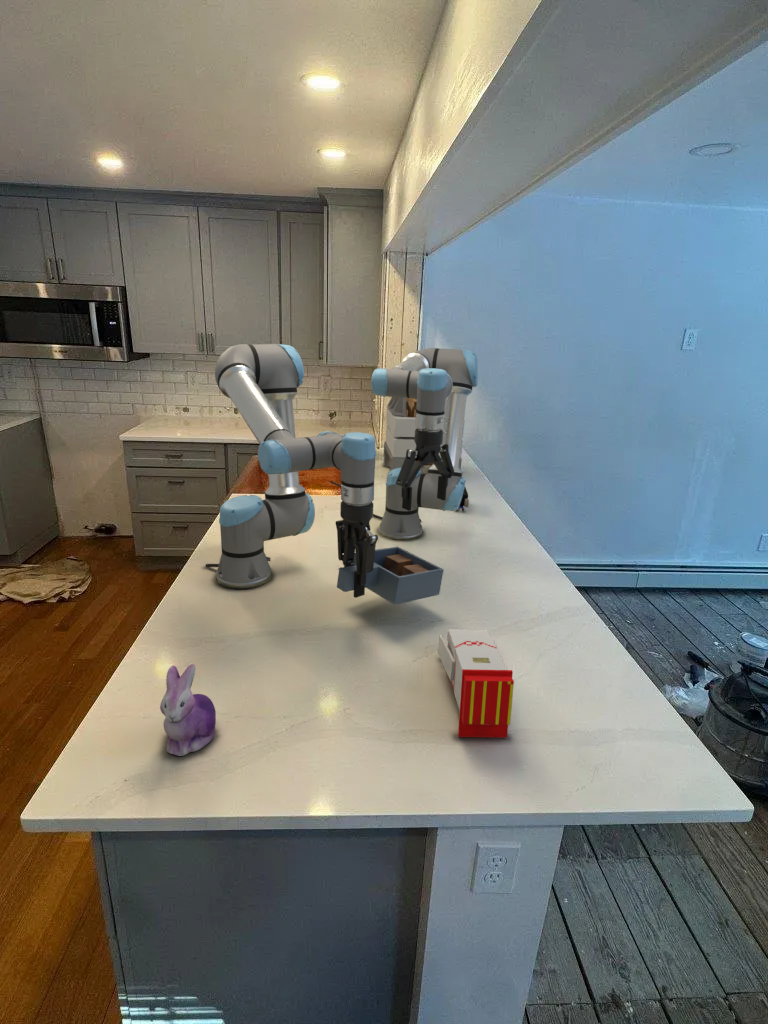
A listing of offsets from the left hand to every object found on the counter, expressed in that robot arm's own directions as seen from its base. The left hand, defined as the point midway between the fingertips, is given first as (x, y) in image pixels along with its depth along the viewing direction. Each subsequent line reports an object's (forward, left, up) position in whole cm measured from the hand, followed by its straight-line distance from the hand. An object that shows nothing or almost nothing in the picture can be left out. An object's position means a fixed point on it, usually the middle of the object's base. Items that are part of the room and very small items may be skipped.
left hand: (354, 592), depth 138 cm
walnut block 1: (+7, +16, -2) cm, 18 cm away
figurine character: (+15, +100, -9) cm, 102 cm away
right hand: (+11, +30, +14) cm, 35 cm away
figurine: (-17, -46, -9) cm, 50 cm away
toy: (+30, -17, -9) cm, 36 cm away
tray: (+5, +7, -2) cm, 8 cm away
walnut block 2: (+13, +11, -2) cm, 17 cm away
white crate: (-9, +144, -9) cm, 145 cm away
